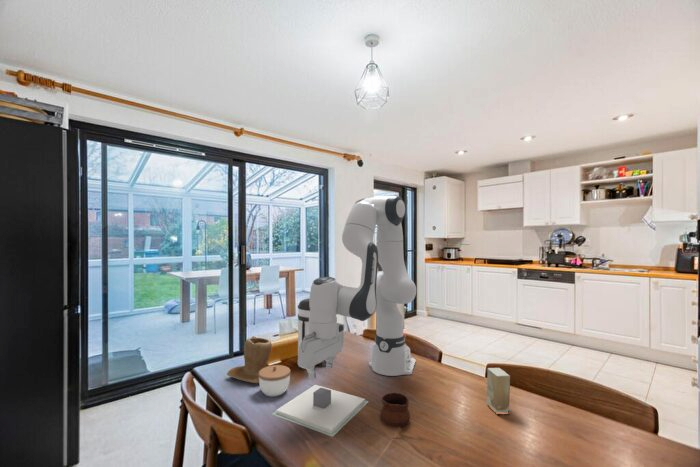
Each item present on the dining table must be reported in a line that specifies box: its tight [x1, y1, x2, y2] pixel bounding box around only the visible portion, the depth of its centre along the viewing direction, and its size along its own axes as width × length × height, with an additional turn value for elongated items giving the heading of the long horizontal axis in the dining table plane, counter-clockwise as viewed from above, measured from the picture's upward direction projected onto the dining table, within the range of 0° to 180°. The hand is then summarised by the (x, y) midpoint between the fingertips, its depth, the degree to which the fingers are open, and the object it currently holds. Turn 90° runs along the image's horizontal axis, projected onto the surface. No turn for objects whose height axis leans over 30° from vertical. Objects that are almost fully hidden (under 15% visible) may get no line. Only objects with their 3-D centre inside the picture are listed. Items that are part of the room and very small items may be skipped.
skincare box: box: [486, 367, 511, 412], centre depth 102 cm, size 6×4×12 cm
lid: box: [275, 384, 366, 434], centre depth 102 cm, size 20×20×5 cm
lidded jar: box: [258, 364, 291, 398], centre depth 112 cm, size 11×11×9 cm
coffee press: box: [297, 297, 327, 369], centre depth 138 cm, size 17×16×30 cm
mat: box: [271, 399, 370, 438], centre depth 102 cm, size 22×22×1 cm
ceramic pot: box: [379, 392, 413, 440], centre depth 96 cm, size 18×18×7 cm
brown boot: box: [226, 336, 272, 384], centre depth 124 cm, size 15×12×15 cm
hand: (321, 373), depth 102 cm, fingers open, 8 cm apart
